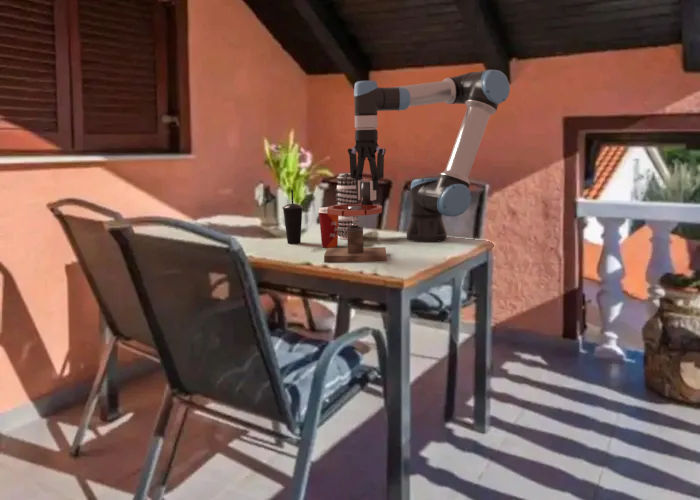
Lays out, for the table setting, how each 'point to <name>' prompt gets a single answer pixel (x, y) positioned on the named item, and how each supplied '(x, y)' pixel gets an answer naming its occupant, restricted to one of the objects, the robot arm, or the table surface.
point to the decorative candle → (345, 201)
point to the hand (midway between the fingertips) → (367, 199)
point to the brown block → (355, 250)
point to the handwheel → (357, 206)
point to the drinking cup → (293, 221)
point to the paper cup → (328, 228)
